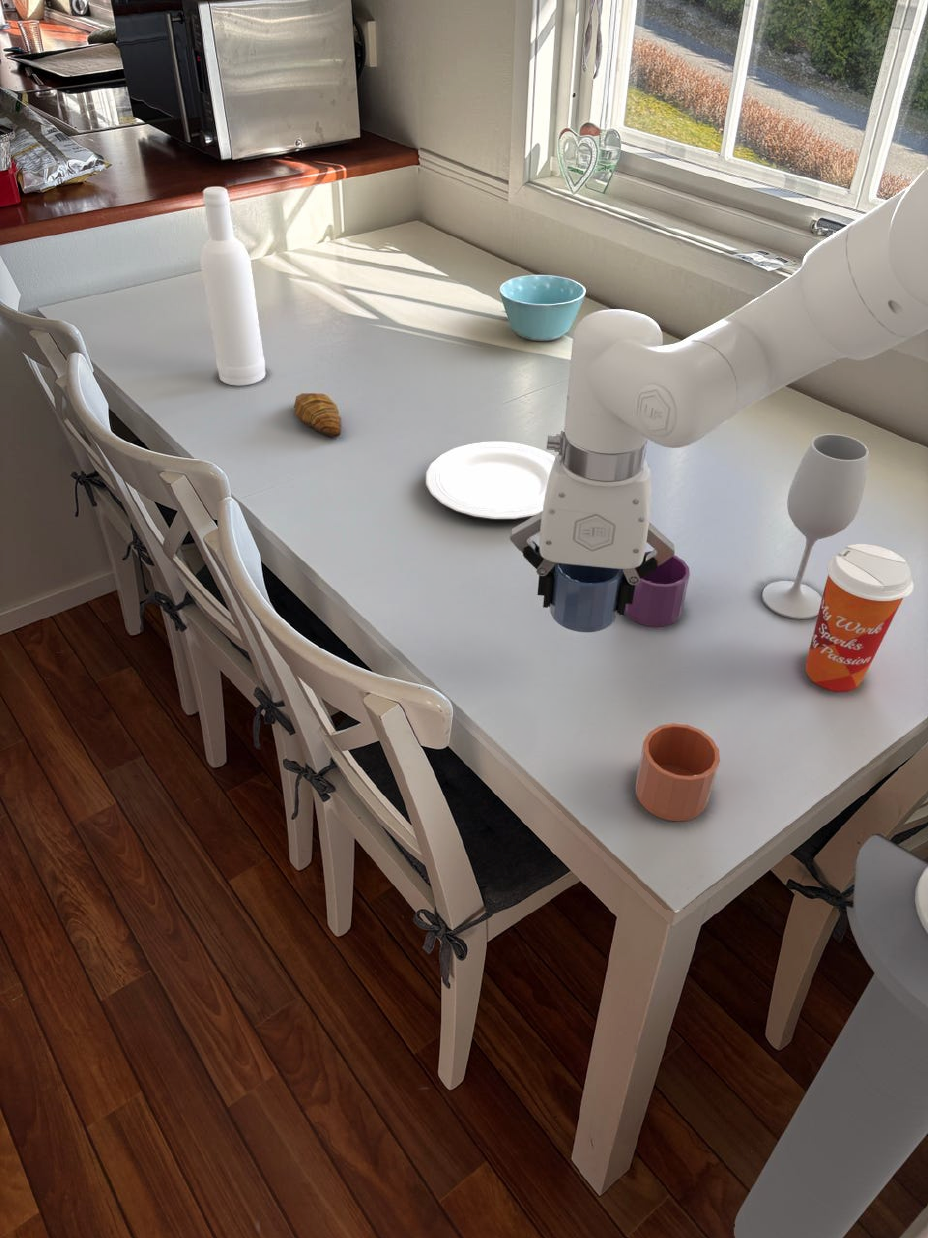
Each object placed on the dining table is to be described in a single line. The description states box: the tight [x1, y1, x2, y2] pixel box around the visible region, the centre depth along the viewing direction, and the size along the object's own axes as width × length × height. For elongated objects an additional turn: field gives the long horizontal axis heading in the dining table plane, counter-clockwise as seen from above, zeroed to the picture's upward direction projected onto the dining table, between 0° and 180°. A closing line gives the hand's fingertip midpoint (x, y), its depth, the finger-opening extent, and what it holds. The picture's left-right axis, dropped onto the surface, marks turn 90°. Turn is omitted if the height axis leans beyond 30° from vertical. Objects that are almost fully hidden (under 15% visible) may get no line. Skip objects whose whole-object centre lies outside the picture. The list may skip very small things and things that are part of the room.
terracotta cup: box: [634, 722, 721, 822], centre depth 87 cm, size 7×7×6 cm
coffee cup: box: [805, 543, 915, 693], centre depth 97 cm, size 8×8×15 cm
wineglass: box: [761, 433, 870, 620], centre depth 105 cm, size 8×8×21 cm
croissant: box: [293, 392, 342, 438], centre depth 144 cm, size 14×7×5 cm, turn 32°
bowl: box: [498, 274, 587, 342], centre depth 171 cm, size 16×16×8 cm
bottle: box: [199, 186, 266, 387], centre depth 148 cm, size 8×8×30 cm
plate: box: [425, 441, 556, 521], centre depth 130 cm, size 21×21×2 cm
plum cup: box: [624, 550, 691, 628], centre depth 109 cm, size 7×7×6 cm
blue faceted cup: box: [549, 563, 623, 633], centre depth 94 cm, size 7×7×6 cm
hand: (583, 602), depth 95 cm, fingers closed on blue faceted cup, 7 cm apart
